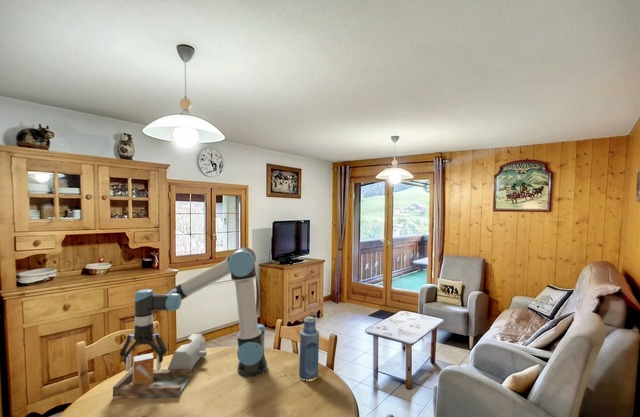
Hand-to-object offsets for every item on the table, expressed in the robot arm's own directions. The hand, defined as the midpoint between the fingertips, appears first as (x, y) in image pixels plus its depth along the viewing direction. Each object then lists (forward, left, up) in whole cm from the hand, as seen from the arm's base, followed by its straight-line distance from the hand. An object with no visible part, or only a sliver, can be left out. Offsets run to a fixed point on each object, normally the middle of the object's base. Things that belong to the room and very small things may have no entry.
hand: (143, 369), depth 149 cm
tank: (-15, -21, -9) cm, 27 cm away
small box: (0, 0, -7) cm, 7 cm away
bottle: (-77, -6, -9) cm, 78 cm away
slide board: (-5, 0, -8) cm, 10 cm away
